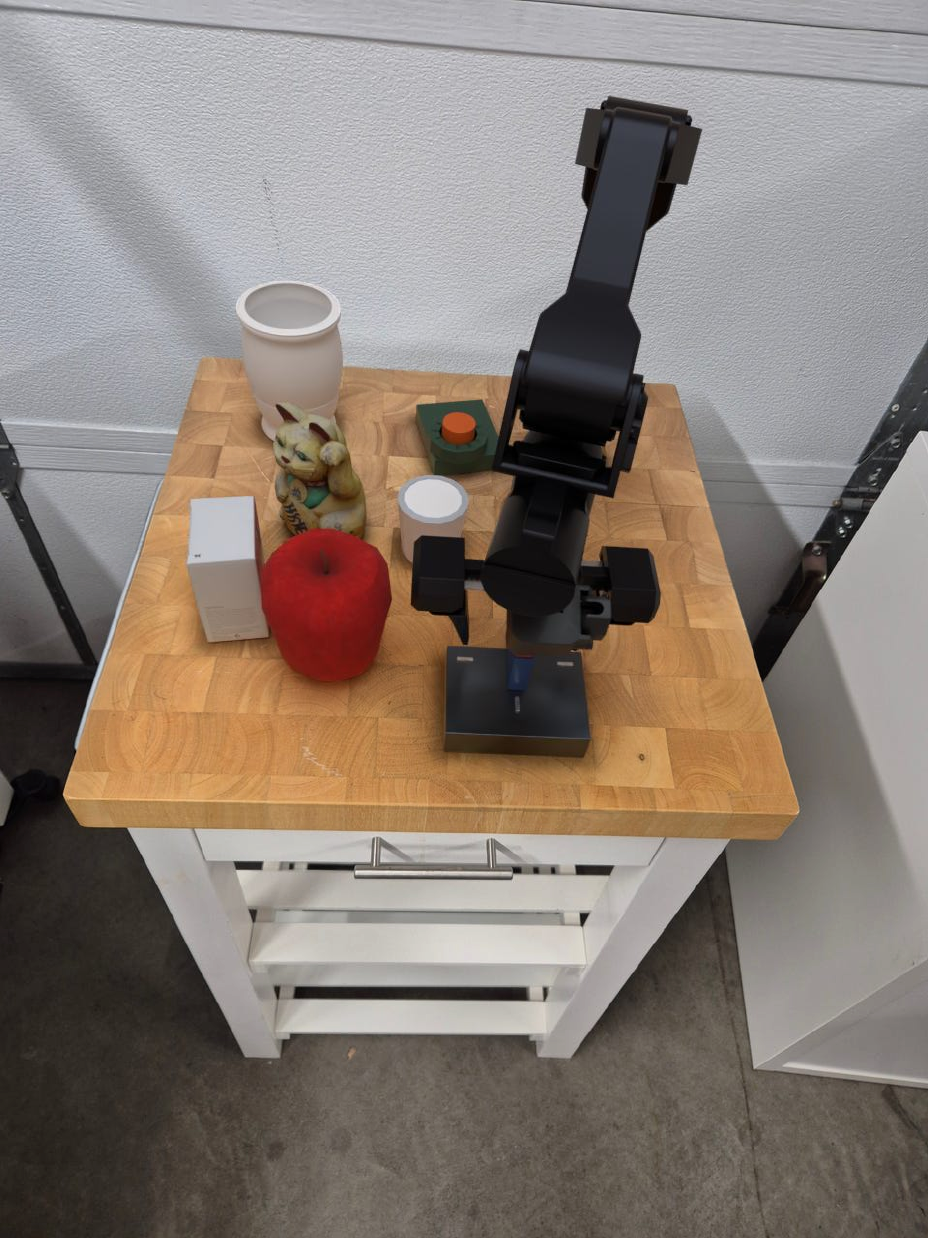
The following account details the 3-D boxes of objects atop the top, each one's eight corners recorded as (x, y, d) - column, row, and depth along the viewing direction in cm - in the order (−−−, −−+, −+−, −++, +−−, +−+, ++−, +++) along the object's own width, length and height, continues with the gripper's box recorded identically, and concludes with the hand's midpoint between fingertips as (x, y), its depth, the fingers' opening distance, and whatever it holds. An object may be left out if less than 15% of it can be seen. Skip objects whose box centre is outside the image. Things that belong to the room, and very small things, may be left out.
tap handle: (505, 634, 73) (511, 600, 69) (522, 635, 73) (530, 601, 69) (507, 689, 69) (514, 656, 66) (525, 690, 69) (533, 657, 66)
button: (438, 426, 90) (439, 413, 89) (469, 423, 91) (471, 410, 90) (445, 447, 88) (446, 434, 87) (477, 444, 89) (479, 431, 87)
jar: (363, 421, 95) (361, 302, 84) (306, 468, 89) (296, 346, 78) (292, 387, 98) (281, 268, 87) (233, 429, 92) (212, 307, 81)
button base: (413, 420, 96) (414, 392, 93) (480, 414, 98) (483, 386, 95) (433, 482, 90) (435, 454, 86) (505, 475, 91) (509, 447, 88)
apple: (272, 708, 70) (254, 606, 59) (271, 616, 76) (254, 509, 66) (395, 697, 71) (398, 596, 61) (384, 608, 78) (385, 503, 67)
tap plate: (571, 640, 77) (578, 619, 75) (584, 757, 69) (591, 738, 67) (445, 634, 76) (447, 612, 74) (443, 751, 68) (445, 732, 66)
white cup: (455, 579, 81) (461, 529, 75) (388, 565, 81) (389, 514, 76) (469, 532, 85) (475, 481, 80) (405, 519, 86) (407, 467, 80)
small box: (269, 639, 74) (256, 560, 66) (206, 644, 73) (184, 564, 65) (268, 574, 79) (255, 493, 71) (208, 578, 78) (189, 496, 70)
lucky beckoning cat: (264, 530, 83) (245, 407, 71) (316, 487, 88) (306, 365, 76) (339, 572, 80) (332, 451, 69) (389, 525, 85) (390, 405, 73)
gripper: (410, 587, 51) (404, 720, 63) (700, 603, 52) (640, 730, 64) (417, 470, 58) (410, 610, 70) (672, 487, 59) (623, 621, 71)
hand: (519, 643), depth 69 cm, fingers open, 9 cm apart
